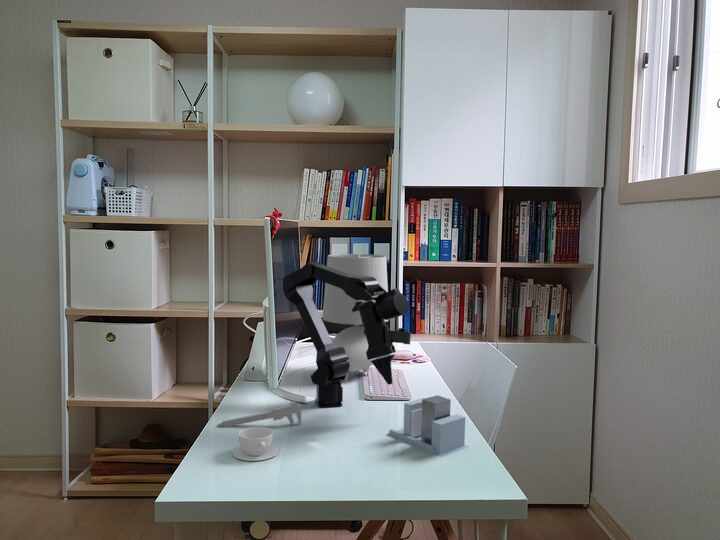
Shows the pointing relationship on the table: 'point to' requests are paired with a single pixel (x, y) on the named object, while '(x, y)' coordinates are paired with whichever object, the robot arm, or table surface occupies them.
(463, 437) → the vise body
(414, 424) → the free jaw
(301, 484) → the table surface
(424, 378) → the table surface
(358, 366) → the table lamp
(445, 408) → the block
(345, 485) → the table surface
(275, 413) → the caliper
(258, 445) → the teacup
